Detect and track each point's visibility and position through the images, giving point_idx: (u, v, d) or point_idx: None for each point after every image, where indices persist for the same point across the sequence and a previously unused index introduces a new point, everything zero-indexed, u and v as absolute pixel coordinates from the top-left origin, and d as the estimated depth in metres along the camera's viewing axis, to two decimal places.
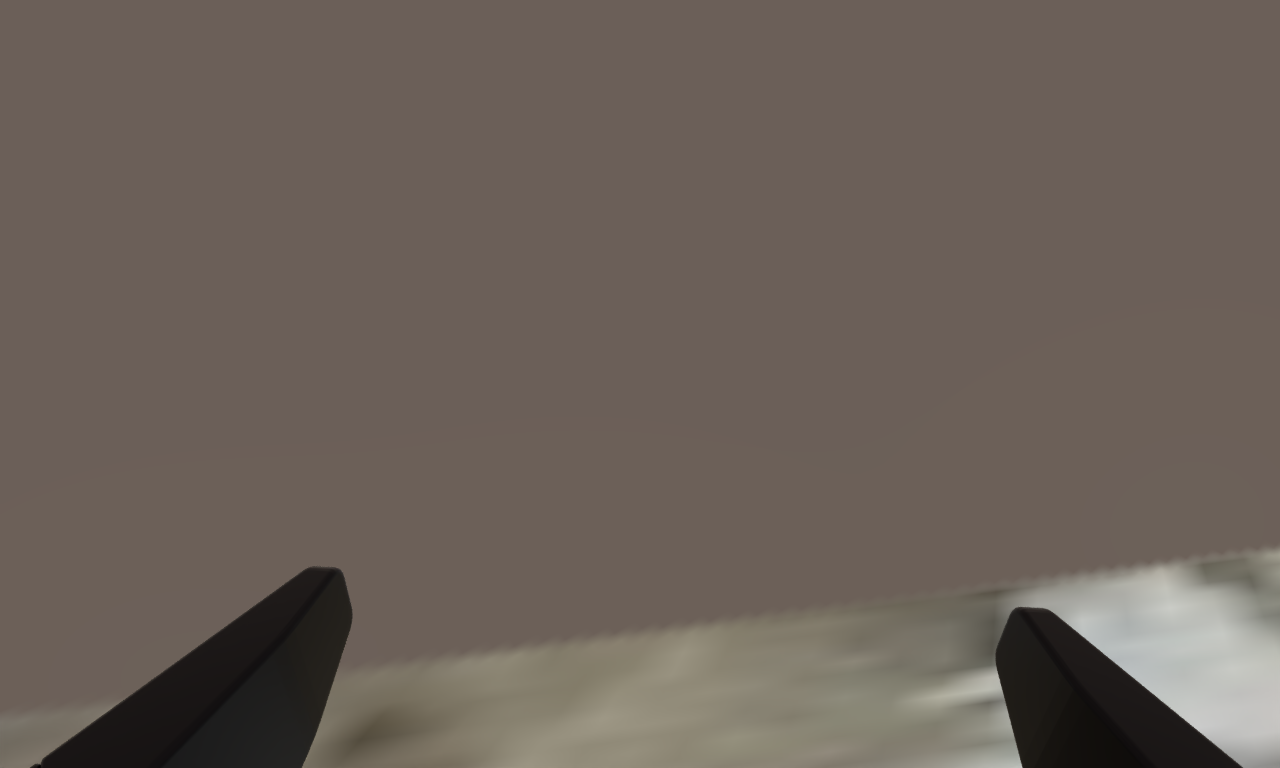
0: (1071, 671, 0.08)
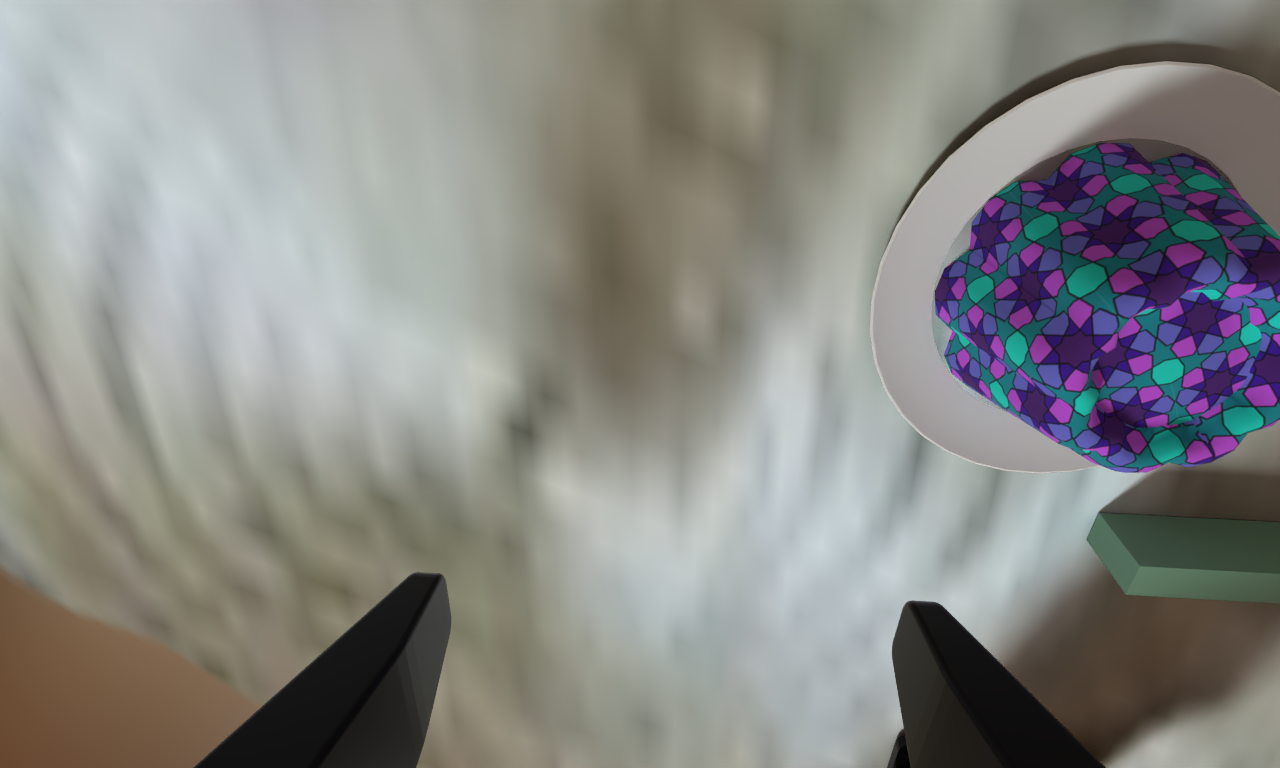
0: (946, 664, 0.08)
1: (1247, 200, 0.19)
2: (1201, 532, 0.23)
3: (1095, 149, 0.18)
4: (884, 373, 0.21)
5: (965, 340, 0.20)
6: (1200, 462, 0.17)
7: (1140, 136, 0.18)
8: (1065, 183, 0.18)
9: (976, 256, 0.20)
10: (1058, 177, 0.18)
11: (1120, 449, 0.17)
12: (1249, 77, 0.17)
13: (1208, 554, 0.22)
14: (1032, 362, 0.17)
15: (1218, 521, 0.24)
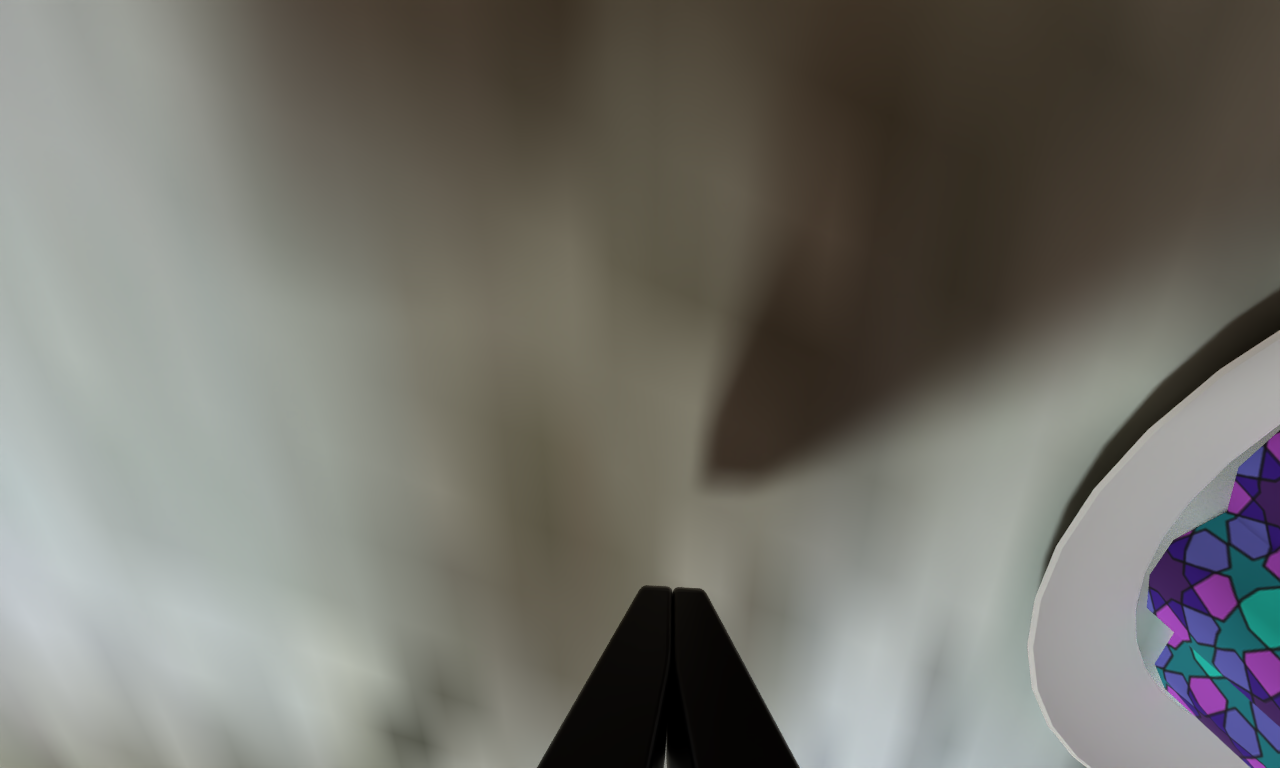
0: (681, 648, 0.08)
1: None
2: None
3: None
4: (1049, 704, 0.12)
5: (1212, 665, 0.11)
6: None
7: None
8: None
9: (1247, 531, 0.10)
10: None
11: None
12: None
13: None
14: None
15: None
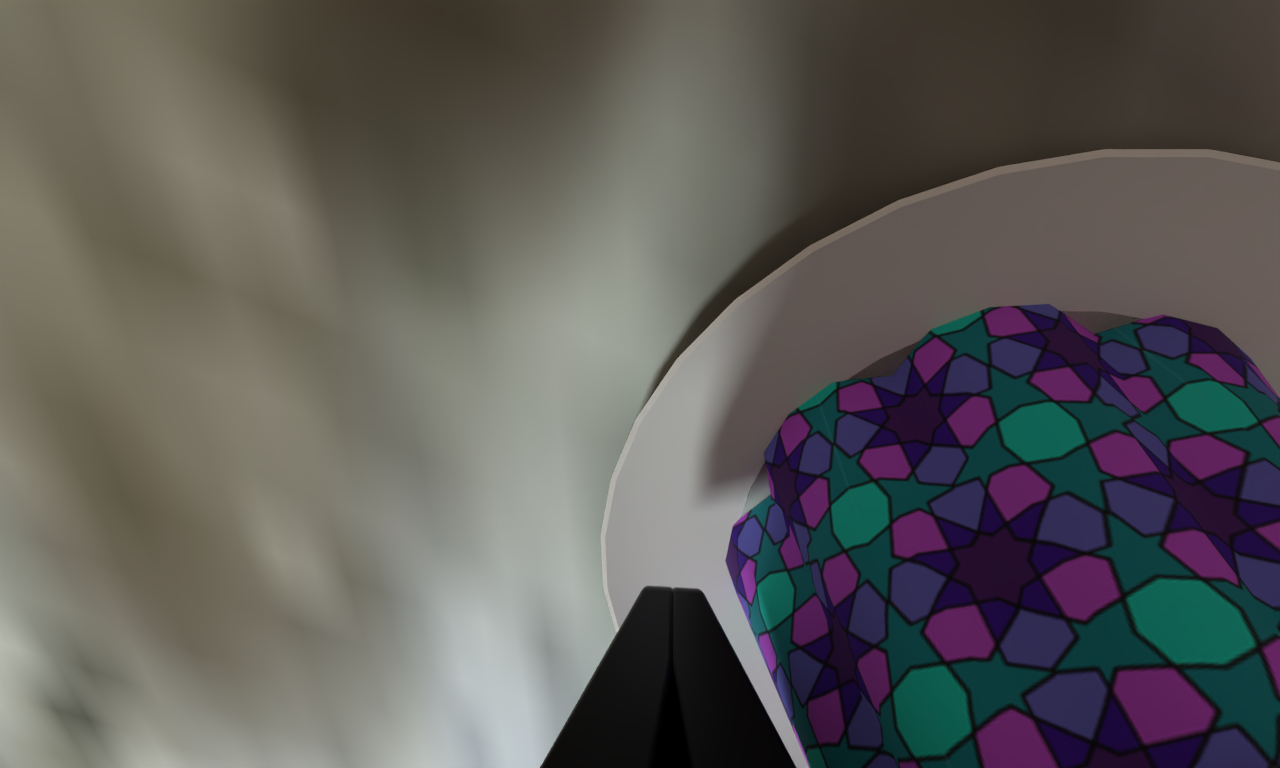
0: (678, 648, 0.08)
1: None
2: None
3: (979, 322, 0.09)
4: None
5: None
6: None
7: (1072, 290, 0.09)
8: (921, 395, 0.09)
9: (778, 516, 0.10)
10: (911, 378, 0.09)
11: None
12: None
13: None
14: None
15: None
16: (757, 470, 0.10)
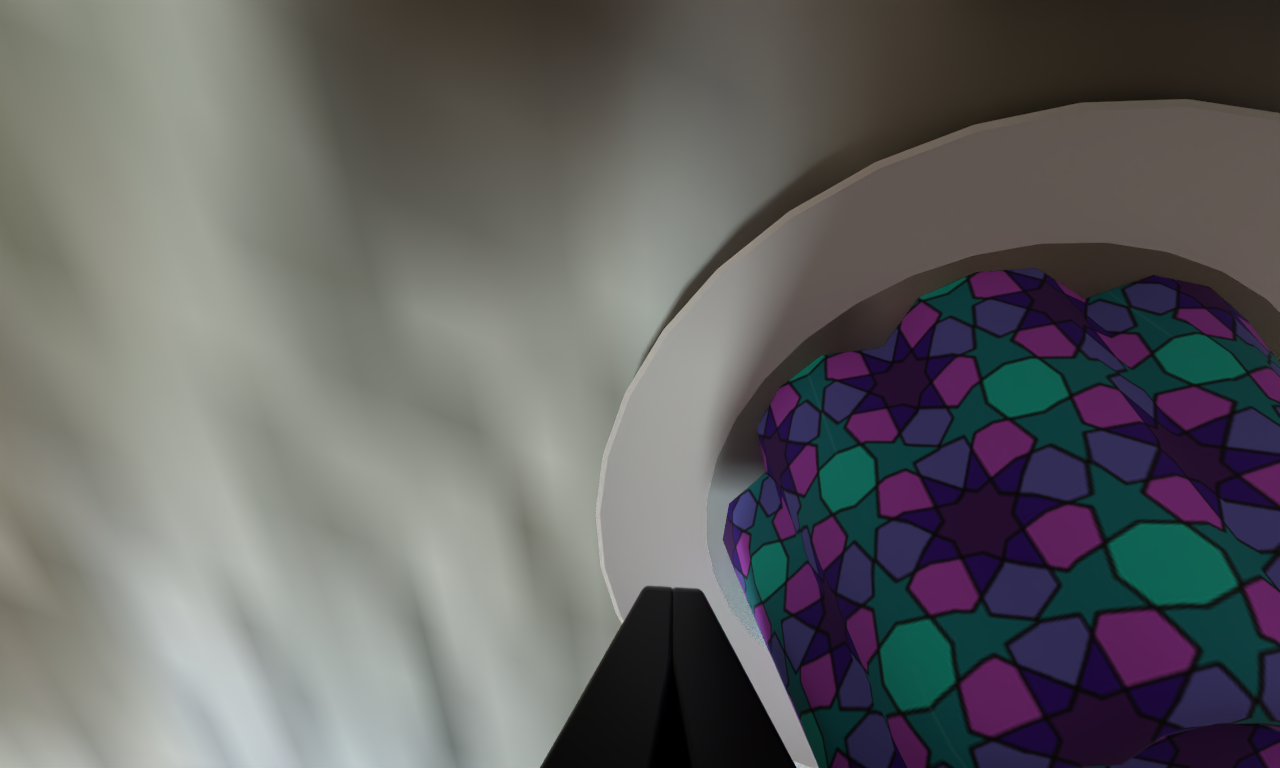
0: (678, 647, 0.08)
1: None
2: None
3: (963, 285, 0.09)
4: None
5: None
6: None
7: None
8: (908, 360, 0.09)
9: (771, 489, 0.10)
10: (898, 344, 0.09)
11: None
12: None
13: None
14: None
15: None
16: None
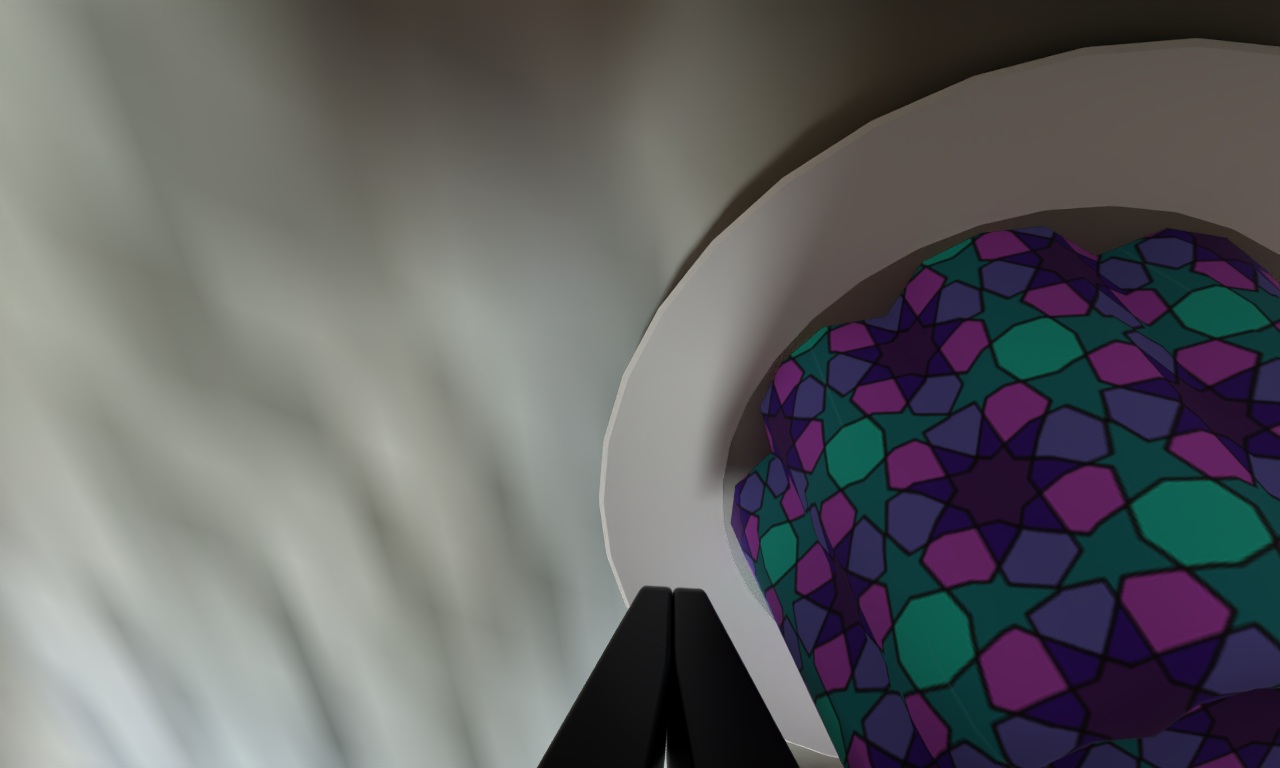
0: (680, 648, 0.08)
1: None
2: None
3: (970, 249, 0.08)
4: None
5: None
6: None
7: (1065, 206, 0.08)
8: (914, 328, 0.09)
9: (779, 470, 0.10)
10: (903, 313, 0.09)
11: None
12: None
13: None
14: None
15: None
16: None
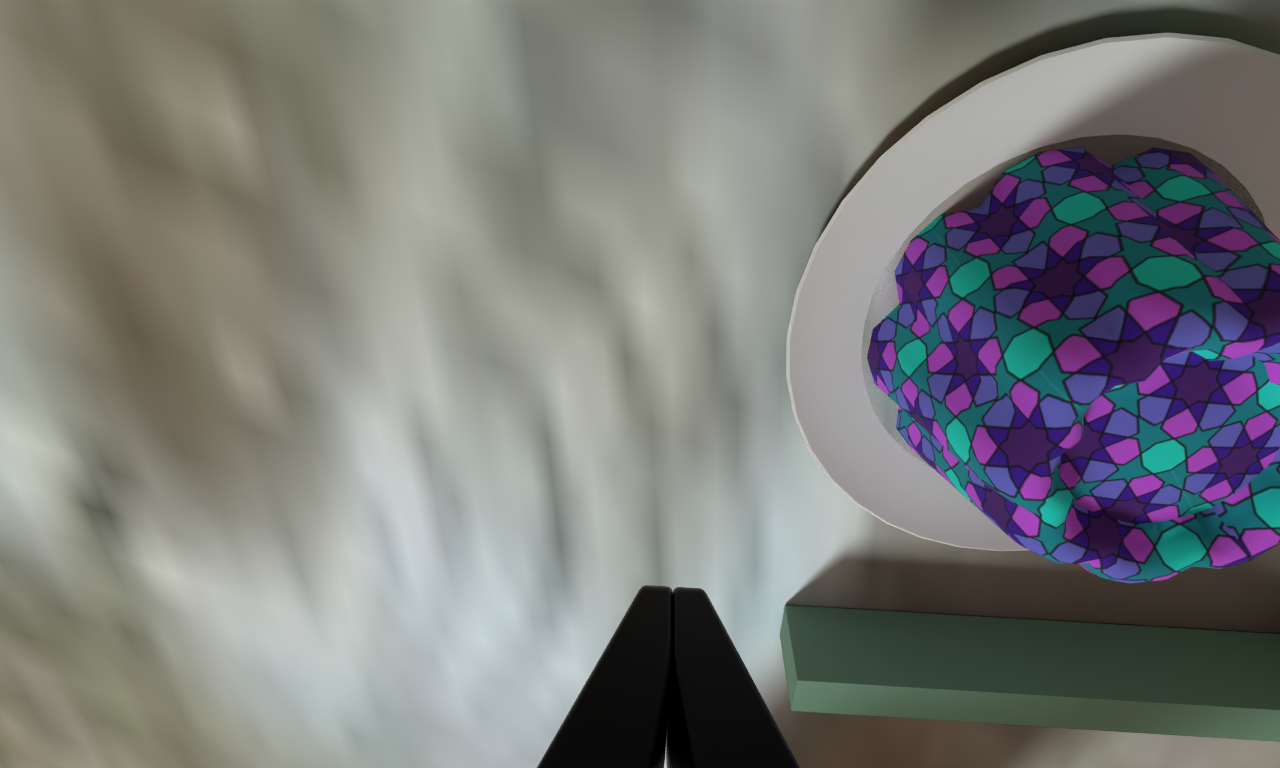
0: (680, 648, 0.08)
1: (1255, 193, 0.14)
2: (894, 632, 0.20)
3: (1034, 161, 0.14)
4: (823, 461, 0.17)
5: None
6: (1231, 564, 0.13)
7: (1093, 135, 0.14)
8: (1000, 210, 0.14)
9: (906, 312, 0.15)
10: (992, 203, 0.14)
11: (1114, 561, 0.13)
12: (1223, 40, 0.12)
13: (889, 663, 0.19)
14: (977, 461, 0.13)
15: (922, 617, 0.20)
16: None
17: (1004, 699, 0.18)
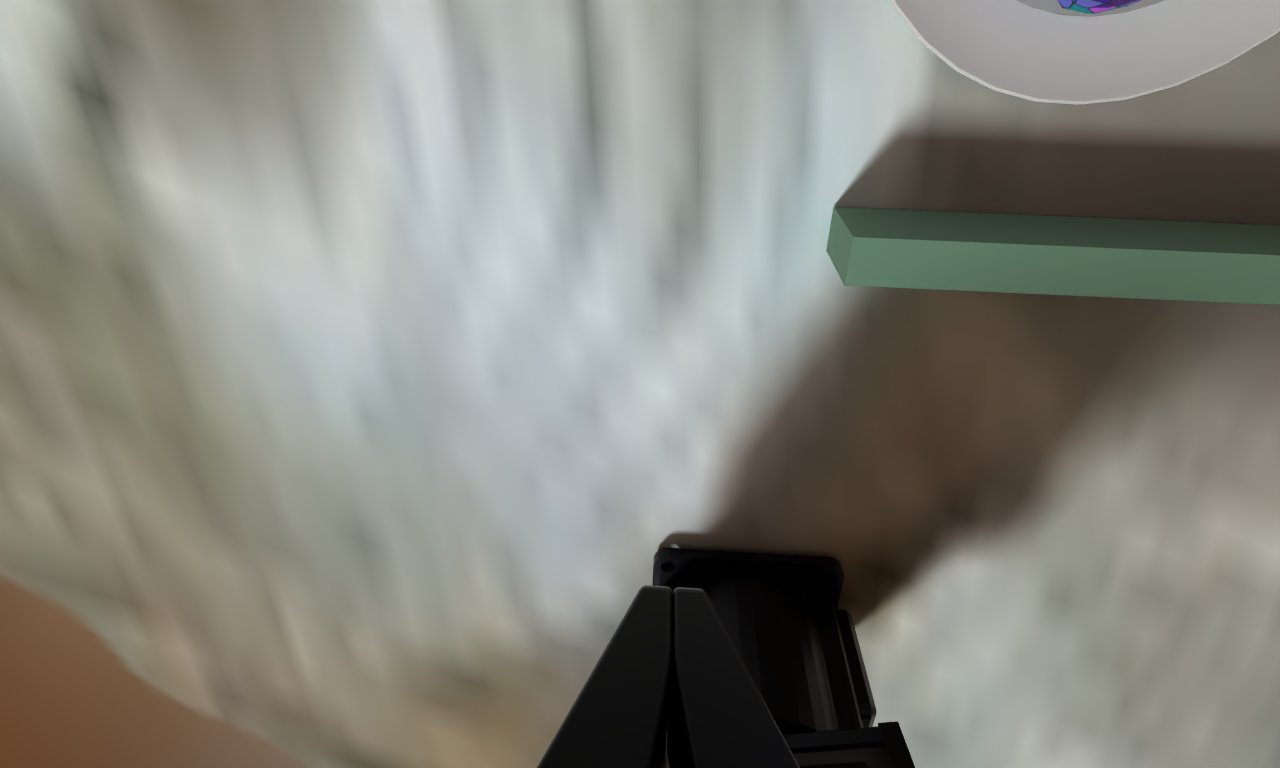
0: (680, 648, 0.08)
1: None
2: (954, 219, 0.18)
3: None
4: None
5: None
6: None
7: None
8: None
9: None
10: None
11: None
12: None
13: (951, 232, 0.17)
14: None
15: (982, 214, 0.19)
16: None
17: (1079, 256, 0.17)
